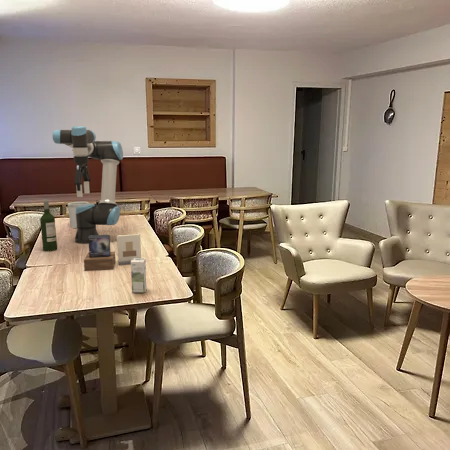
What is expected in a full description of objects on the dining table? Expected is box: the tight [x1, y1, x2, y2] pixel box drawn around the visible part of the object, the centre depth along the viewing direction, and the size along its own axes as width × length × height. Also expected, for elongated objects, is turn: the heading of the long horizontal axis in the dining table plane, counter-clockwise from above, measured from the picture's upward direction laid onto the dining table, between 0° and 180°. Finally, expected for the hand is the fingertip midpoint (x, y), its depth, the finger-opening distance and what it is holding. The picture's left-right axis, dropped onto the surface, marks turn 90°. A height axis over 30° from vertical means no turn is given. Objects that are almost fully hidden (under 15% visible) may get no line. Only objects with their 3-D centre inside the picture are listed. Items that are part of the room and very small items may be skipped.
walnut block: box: [83, 251, 117, 272], centre depth 229 cm, size 14×14×6 cm
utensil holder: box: [67, 201, 90, 229], centre depth 320 cm, size 15×15×18 cm
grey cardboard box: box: [116, 233, 142, 266], centre depth 234 cm, size 6×12×15 cm, turn 107°
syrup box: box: [130, 257, 148, 294], centre depth 193 cm, size 6×6×14 cm
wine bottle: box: [39, 198, 58, 252], centre depth 257 cm, size 8×8×30 cm
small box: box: [88, 234, 112, 257], centre depth 227 cm, size 11×6×10 cm, turn 102°
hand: (83, 195), depth 240 cm, fingers open, 13 cm apart
